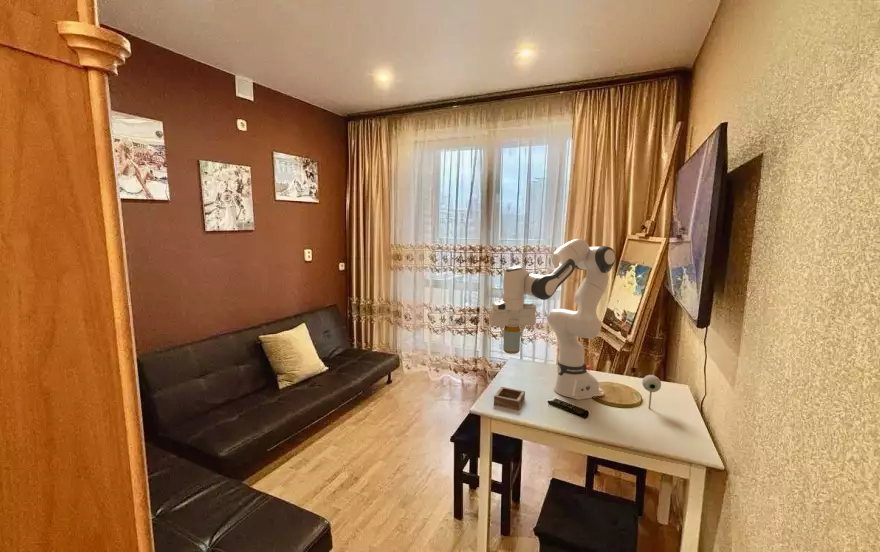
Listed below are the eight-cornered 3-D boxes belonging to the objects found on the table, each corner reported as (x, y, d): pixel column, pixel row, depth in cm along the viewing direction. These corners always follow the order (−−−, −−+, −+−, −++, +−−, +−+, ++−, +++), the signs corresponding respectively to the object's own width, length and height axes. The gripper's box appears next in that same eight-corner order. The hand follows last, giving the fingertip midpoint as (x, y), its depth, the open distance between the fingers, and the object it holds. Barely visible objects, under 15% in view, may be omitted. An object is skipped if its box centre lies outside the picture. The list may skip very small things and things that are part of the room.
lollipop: (641, 410, 163) (644, 377, 161) (639, 403, 170) (642, 371, 168) (659, 413, 161) (663, 380, 159) (657, 406, 167) (660, 373, 165)
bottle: (522, 351, 167) (523, 318, 165) (514, 355, 162) (515, 321, 160) (508, 347, 171) (509, 315, 169) (500, 351, 166) (501, 318, 164)
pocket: (501, 394, 177) (501, 386, 177) (524, 399, 173) (524, 391, 172) (493, 404, 168) (494, 396, 167) (518, 410, 163) (518, 401, 162)
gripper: (533, 302, 168) (532, 332, 170) (488, 303, 165) (487, 333, 167) (538, 305, 162) (537, 336, 164) (492, 306, 159) (491, 338, 161)
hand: (511, 335), depth 166 cm, fingers closed on bottle, 6 cm apart
